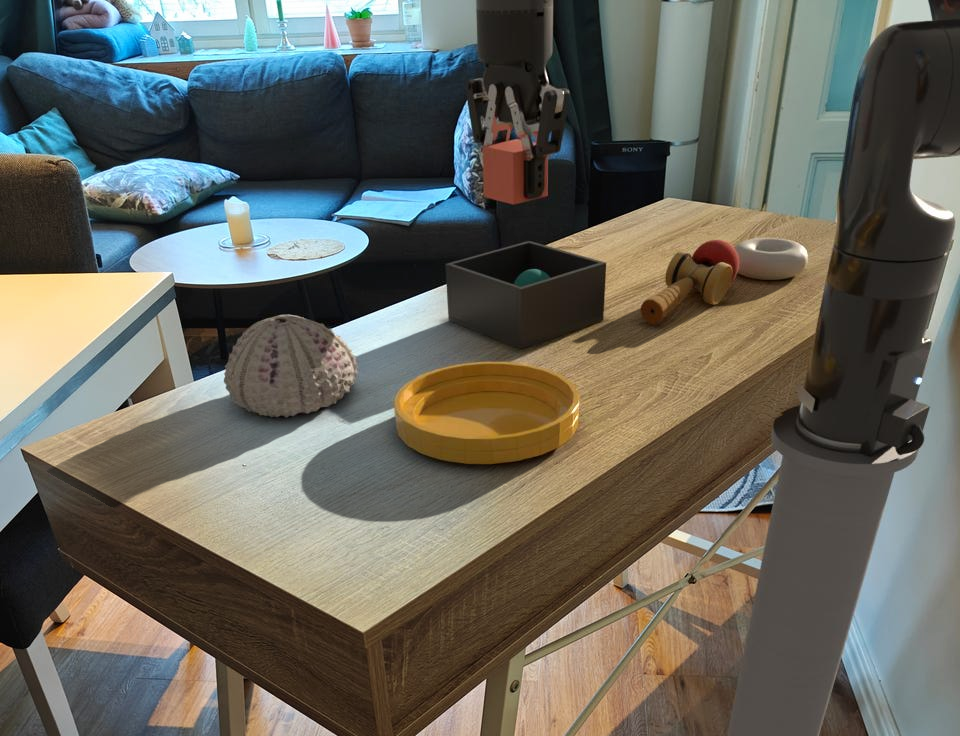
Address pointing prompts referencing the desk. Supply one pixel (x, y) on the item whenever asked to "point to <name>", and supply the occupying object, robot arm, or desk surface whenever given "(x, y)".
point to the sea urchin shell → (289, 367)
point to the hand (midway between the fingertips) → (516, 192)
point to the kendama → (694, 278)
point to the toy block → (506, 172)
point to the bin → (525, 293)
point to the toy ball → (530, 277)
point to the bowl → (487, 412)
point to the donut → (771, 258)
